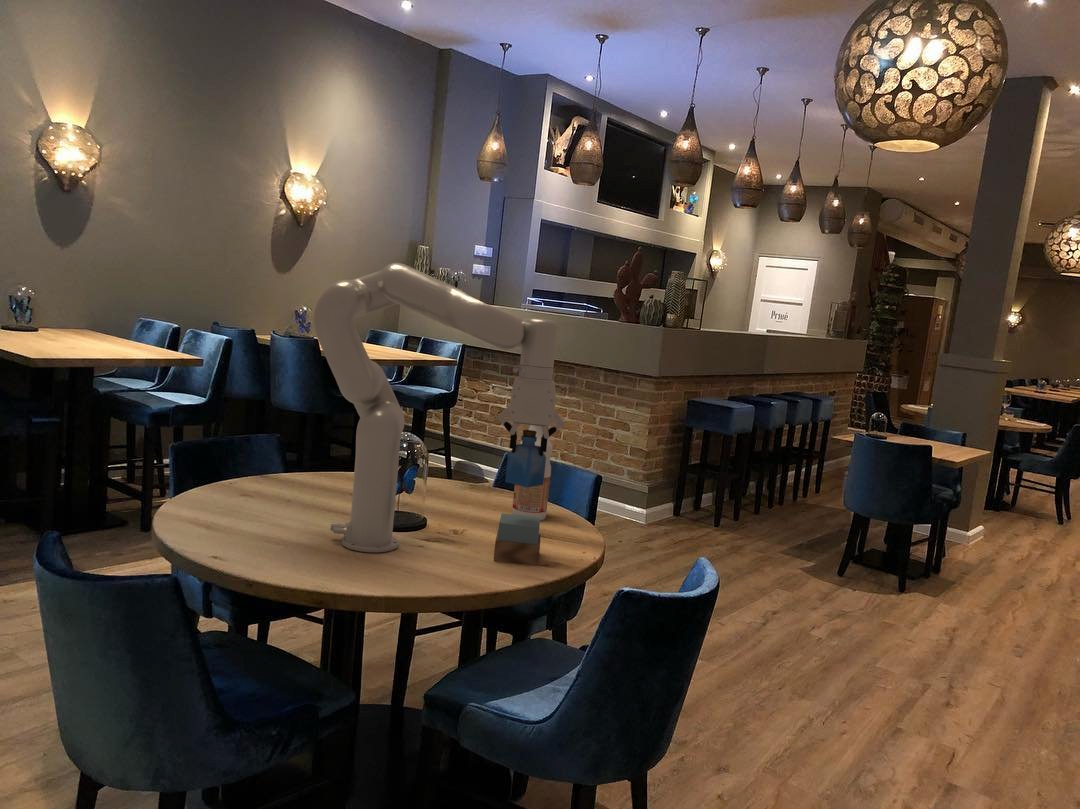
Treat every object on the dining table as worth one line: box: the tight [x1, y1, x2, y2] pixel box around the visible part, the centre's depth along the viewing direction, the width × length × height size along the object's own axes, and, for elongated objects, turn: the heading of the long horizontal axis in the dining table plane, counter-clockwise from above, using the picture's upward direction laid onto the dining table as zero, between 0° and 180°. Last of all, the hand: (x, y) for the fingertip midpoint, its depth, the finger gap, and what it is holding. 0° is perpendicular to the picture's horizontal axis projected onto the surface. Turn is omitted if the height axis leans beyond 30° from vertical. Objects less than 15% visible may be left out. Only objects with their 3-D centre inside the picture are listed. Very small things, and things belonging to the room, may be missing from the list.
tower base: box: [493, 528, 541, 567], centre depth 195 cm, size 10×10×5 cm
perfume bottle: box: [504, 429, 546, 487], centre depth 193 cm, size 6×6×12 cm
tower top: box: [497, 512, 541, 545], centre depth 195 cm, size 9×9×4 cm
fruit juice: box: [511, 425, 554, 522], centre depth 232 cm, size 9×9×28 cm
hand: (527, 452), depth 193 cm, fingers closed on perfume bottle, 5 cm apart
